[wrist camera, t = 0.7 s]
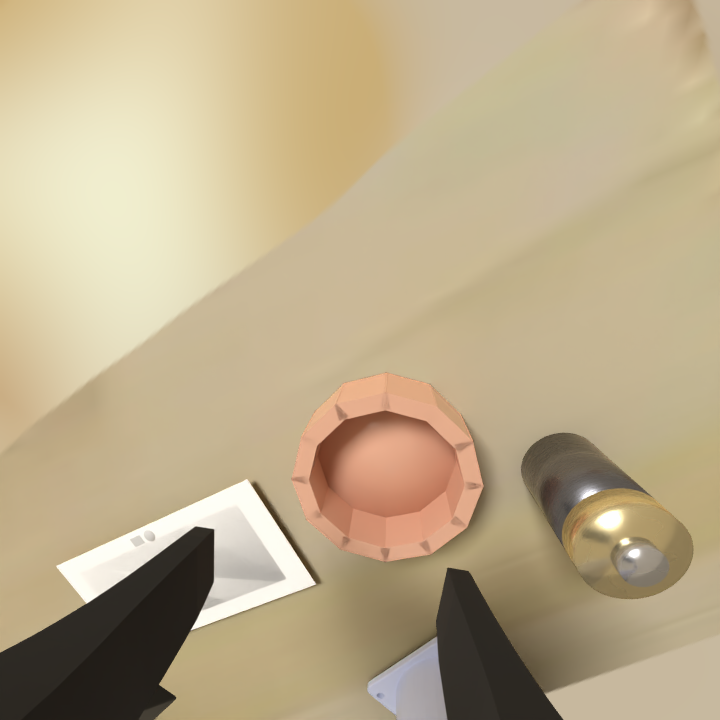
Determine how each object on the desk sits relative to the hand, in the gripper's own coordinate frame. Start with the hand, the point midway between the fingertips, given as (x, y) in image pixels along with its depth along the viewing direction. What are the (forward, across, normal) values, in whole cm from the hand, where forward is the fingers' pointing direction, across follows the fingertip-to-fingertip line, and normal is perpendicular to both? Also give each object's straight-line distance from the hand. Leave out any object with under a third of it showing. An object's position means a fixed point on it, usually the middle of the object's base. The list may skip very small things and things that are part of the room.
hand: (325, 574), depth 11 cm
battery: (+9, -11, 0) cm, 14 cm away
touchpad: (+10, +10, +11) cm, 17 cm away
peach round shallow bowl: (+9, -2, 0) cm, 9 cm away
